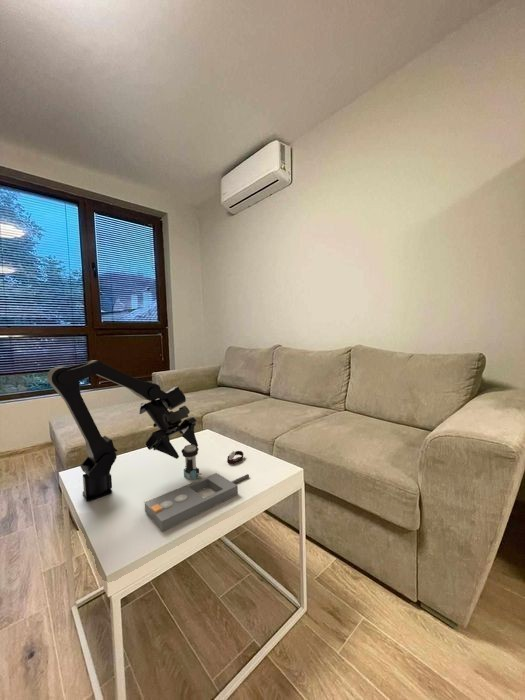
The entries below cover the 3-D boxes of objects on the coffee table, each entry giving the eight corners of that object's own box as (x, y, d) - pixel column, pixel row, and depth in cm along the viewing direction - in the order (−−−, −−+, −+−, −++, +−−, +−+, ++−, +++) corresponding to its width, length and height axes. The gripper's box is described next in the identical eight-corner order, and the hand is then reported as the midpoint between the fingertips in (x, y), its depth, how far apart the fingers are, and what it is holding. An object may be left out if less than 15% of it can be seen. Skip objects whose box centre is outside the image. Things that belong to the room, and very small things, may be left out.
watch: (236, 455, 107) (236, 446, 107) (247, 458, 105) (246, 448, 105) (223, 464, 101) (223, 454, 100) (234, 466, 98) (234, 456, 98)
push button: (206, 475, 92) (205, 445, 92) (196, 483, 87) (194, 451, 87) (190, 471, 95) (188, 442, 95) (179, 479, 90) (177, 448, 90)
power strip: (162, 531, 66) (161, 519, 65) (145, 511, 74) (144, 500, 74) (260, 483, 86) (259, 473, 86) (238, 471, 94) (238, 462, 94)
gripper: (150, 406, 85) (180, 447, 80) (191, 394, 101) (218, 427, 97) (133, 429, 88) (161, 470, 84) (175, 414, 105) (201, 447, 101)
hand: (188, 452), depth 91 cm, fingers open, 9 cm apart
